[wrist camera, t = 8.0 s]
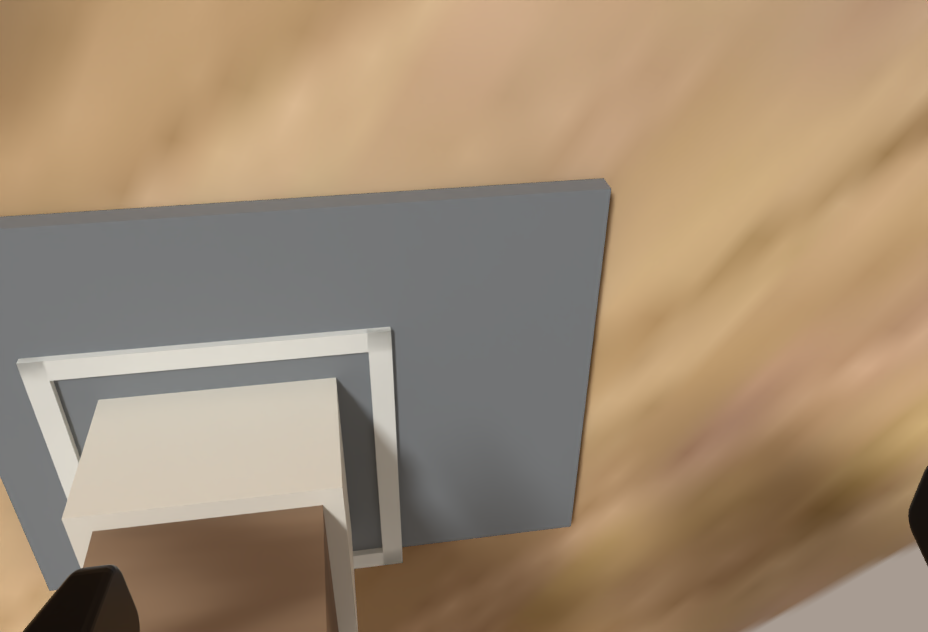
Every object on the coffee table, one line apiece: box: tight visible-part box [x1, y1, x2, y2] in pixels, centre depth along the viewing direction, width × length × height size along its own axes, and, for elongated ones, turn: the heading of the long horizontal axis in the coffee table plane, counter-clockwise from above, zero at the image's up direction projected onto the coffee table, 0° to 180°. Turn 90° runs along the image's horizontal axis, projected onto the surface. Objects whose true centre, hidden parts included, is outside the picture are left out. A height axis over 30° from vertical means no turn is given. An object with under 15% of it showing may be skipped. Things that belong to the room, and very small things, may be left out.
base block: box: [62, 378, 358, 632], centre depth 22 cm, size 6×6×4 cm
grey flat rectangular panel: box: [0, 178, 611, 591], centre depth 23 cm, size 16×12×1 cm
